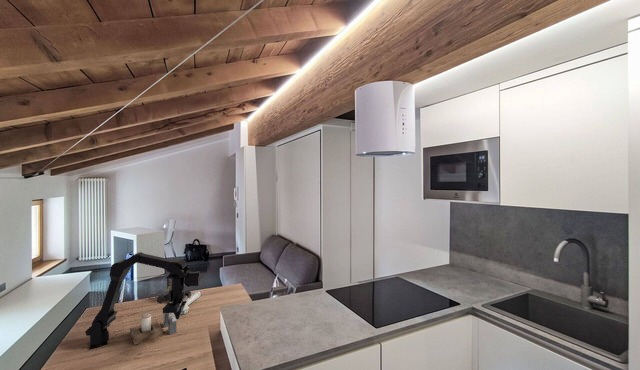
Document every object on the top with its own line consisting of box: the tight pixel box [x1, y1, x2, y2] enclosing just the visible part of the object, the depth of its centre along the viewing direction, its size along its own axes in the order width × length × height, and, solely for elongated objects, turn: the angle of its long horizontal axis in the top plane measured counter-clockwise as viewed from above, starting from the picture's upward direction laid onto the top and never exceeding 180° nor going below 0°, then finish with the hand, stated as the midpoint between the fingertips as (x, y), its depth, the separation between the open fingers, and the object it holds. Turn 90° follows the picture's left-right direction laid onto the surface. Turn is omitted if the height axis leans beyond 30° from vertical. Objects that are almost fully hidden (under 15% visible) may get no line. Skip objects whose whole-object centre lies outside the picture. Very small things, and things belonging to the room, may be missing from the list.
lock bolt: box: [169, 313, 178, 322], centre depth 138 cm, size 2×6×2 cm, turn 43°
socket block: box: [129, 320, 163, 346], centre depth 137 cm, size 12×12×3 cm
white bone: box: [181, 290, 202, 315], centre depth 170 cm, size 5×7×25 cm
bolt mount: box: [162, 312, 177, 336], centre depth 142 cm, size 3×12×7 cm, turn 43°
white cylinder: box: [140, 312, 152, 333], centre depth 137 cm, size 4×4×10 cm
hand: (177, 318), depth 132 cm, fingers closed
